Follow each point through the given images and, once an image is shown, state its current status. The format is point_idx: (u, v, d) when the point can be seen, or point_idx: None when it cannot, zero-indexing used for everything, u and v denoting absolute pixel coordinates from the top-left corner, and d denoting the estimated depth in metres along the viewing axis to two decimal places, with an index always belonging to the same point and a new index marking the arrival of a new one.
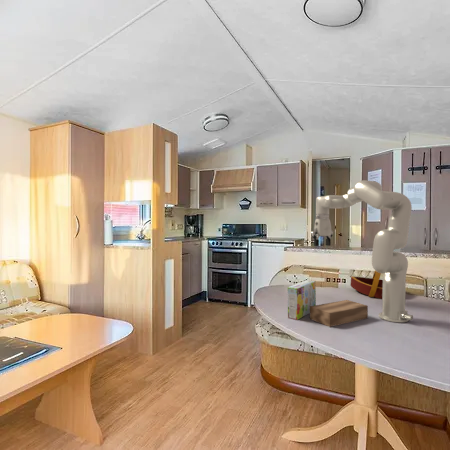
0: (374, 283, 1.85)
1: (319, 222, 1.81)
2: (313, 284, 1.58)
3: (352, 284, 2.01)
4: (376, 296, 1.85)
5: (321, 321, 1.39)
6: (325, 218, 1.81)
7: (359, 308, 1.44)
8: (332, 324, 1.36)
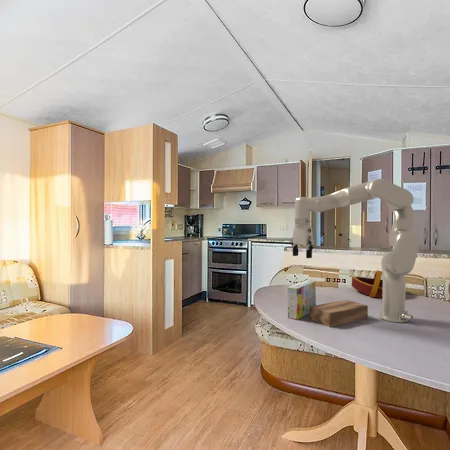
0: (375, 283, 1.85)
1: (311, 228, 1.50)
2: (313, 284, 1.58)
3: (353, 284, 2.01)
4: (377, 296, 1.85)
5: (321, 321, 1.39)
6: None
7: (359, 308, 1.44)
8: (332, 324, 1.36)
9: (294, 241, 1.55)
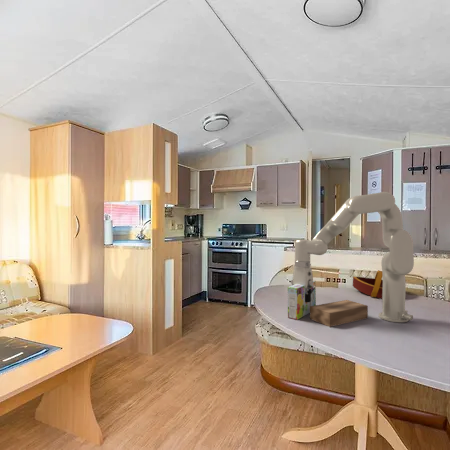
0: (376, 283, 1.85)
1: (311, 271, 1.50)
2: (313, 284, 1.58)
3: (354, 284, 2.01)
4: (378, 296, 1.84)
5: (321, 321, 1.39)
6: None
7: (359, 308, 1.44)
8: (332, 324, 1.36)
9: (294, 283, 1.55)
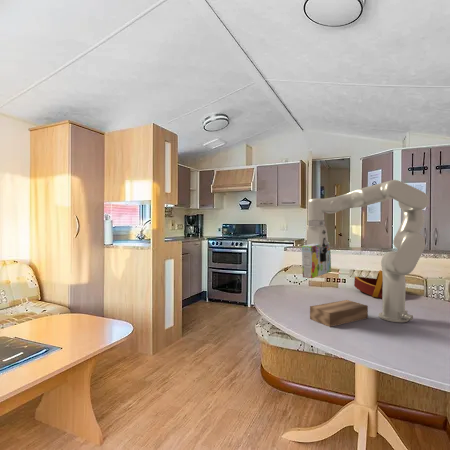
0: (378, 283, 1.84)
1: (326, 230, 1.47)
2: None
3: (356, 284, 2.01)
4: (380, 296, 1.84)
5: (321, 321, 1.39)
6: None
7: (359, 308, 1.44)
8: (332, 324, 1.36)
9: (308, 243, 1.52)
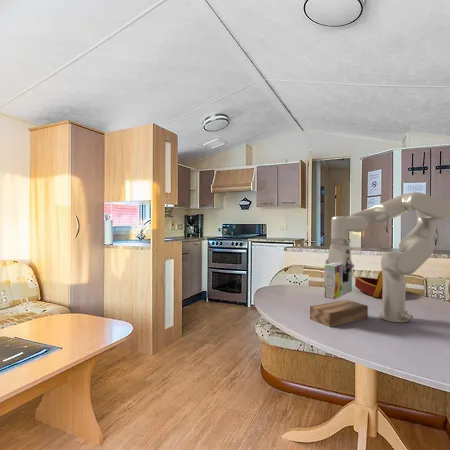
0: (379, 283, 1.84)
1: (349, 249, 1.43)
2: None
3: (356, 284, 2.00)
4: (381, 296, 1.84)
5: (321, 321, 1.39)
6: None
7: (359, 308, 1.44)
8: (332, 324, 1.36)
9: (330, 262, 1.48)
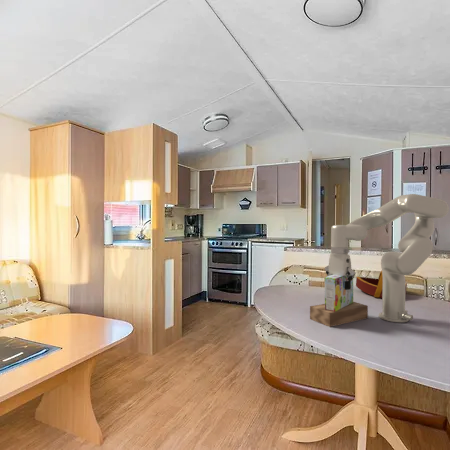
0: (379, 283, 1.84)
1: None
2: None
3: (357, 284, 2.00)
4: None
5: (321, 321, 1.39)
6: None
7: (359, 308, 1.44)
8: (332, 324, 1.36)
9: (330, 270, 1.48)
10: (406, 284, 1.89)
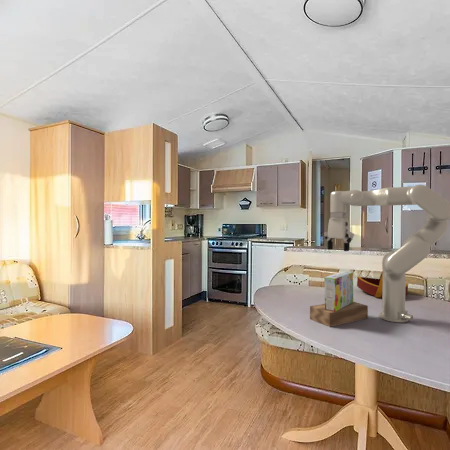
0: (381, 283, 1.84)
1: (348, 222, 1.52)
2: (351, 275, 1.50)
3: (358, 284, 2.00)
4: None
5: (321, 321, 1.39)
6: None
7: (359, 308, 1.44)
8: (332, 324, 1.36)
9: (329, 235, 1.57)
10: (407, 284, 1.88)
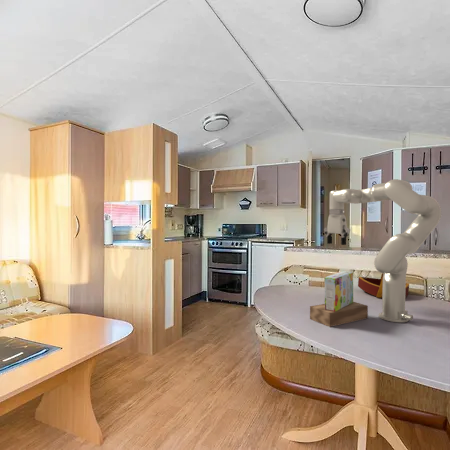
0: (382, 284, 1.83)
1: (345, 218, 1.67)
2: (351, 275, 1.50)
3: (360, 284, 2.00)
4: None
5: (321, 321, 1.39)
6: None
7: (359, 308, 1.44)
8: (332, 324, 1.36)
9: (329, 230, 1.72)
10: (408, 284, 1.88)
